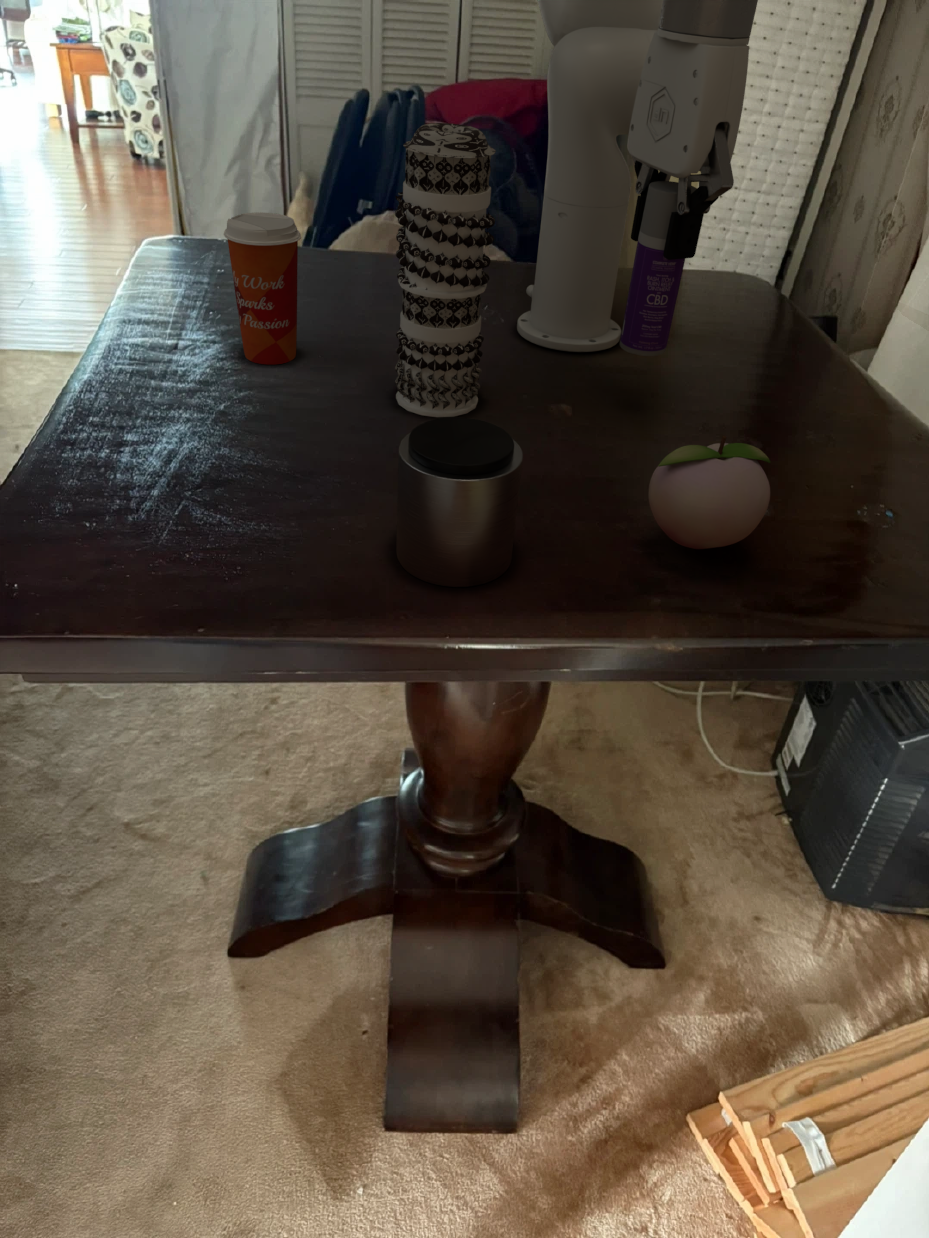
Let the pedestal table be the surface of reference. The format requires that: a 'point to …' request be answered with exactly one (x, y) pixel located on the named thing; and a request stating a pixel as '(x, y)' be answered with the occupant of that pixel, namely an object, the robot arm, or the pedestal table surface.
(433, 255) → the decorative candle
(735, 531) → the decorative fruit
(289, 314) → the paper cup
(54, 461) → the pedestal table surface
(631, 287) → the container
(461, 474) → the lidded metal canister
